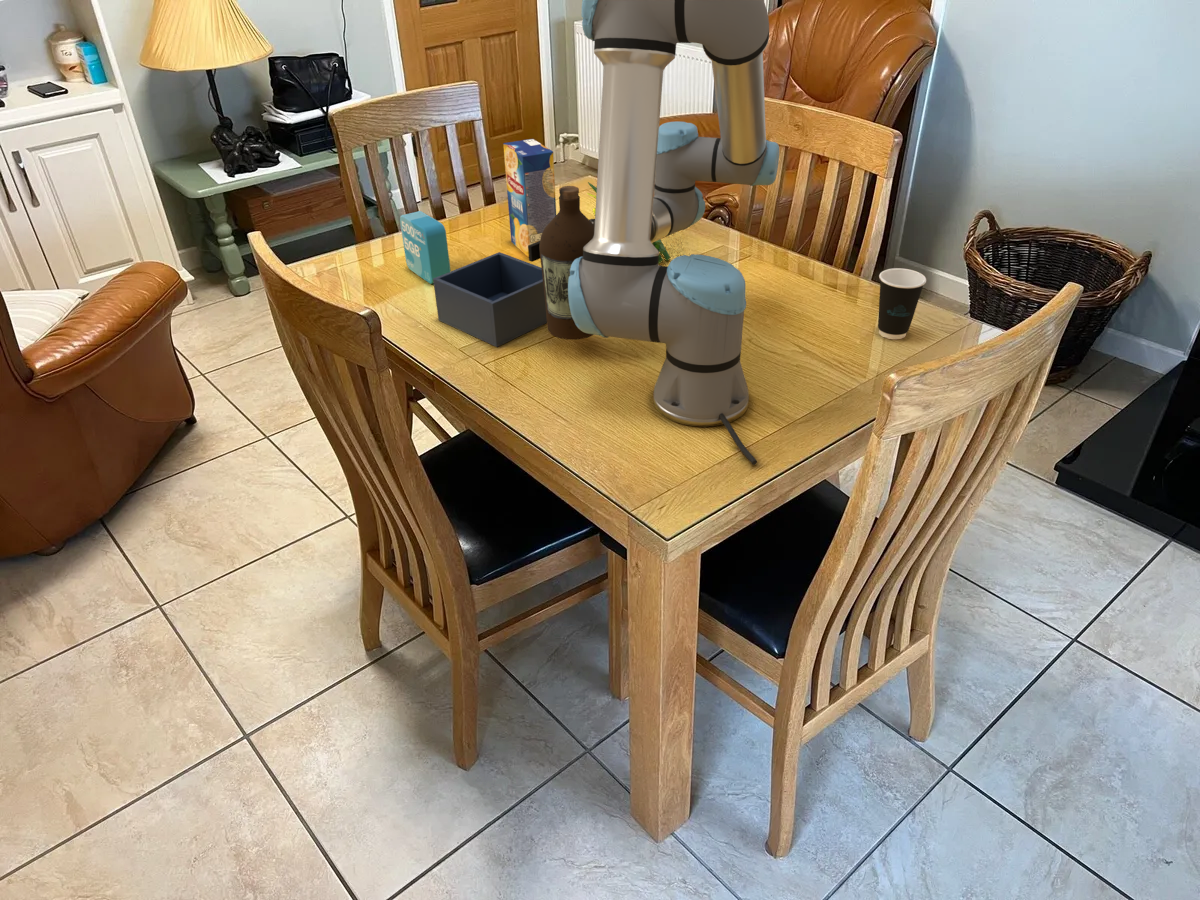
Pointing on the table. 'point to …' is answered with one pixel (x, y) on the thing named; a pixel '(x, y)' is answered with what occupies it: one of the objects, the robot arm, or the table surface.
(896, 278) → the dixie cup
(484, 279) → the blue-grey hollow square box
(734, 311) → the robot arm
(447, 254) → the data package
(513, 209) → the cracker box
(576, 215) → the brown bottle
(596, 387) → the table surface
